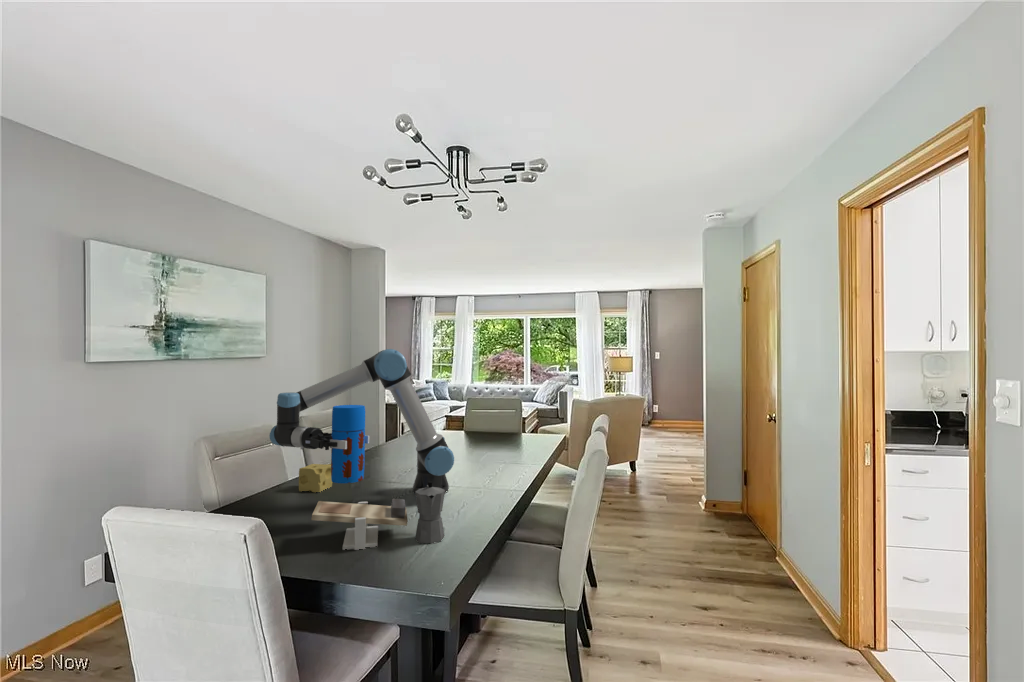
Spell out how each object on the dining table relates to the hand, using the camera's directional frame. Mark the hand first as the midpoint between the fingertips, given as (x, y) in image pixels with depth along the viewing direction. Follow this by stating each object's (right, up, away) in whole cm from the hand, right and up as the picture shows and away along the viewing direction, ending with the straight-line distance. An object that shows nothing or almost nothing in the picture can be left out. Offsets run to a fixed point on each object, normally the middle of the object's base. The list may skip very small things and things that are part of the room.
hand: (357, 442), depth 169 cm
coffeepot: (+26, -28, -11) cm, 40 cm away
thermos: (-4, -13, +1) cm, 14 cm away
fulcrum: (+5, -28, -12) cm, 31 cm away
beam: (+5, -20, -12) cm, 24 cm away
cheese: (-32, -30, +45) cm, 63 cm away
